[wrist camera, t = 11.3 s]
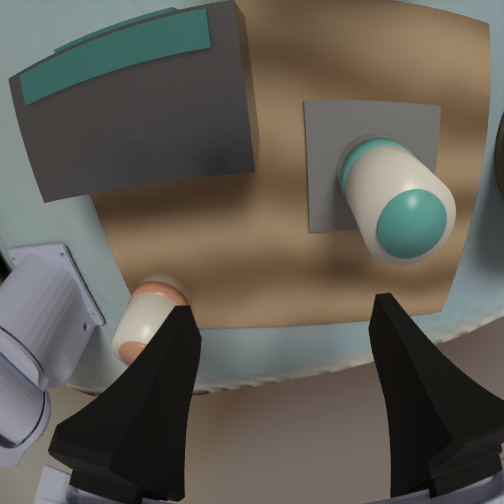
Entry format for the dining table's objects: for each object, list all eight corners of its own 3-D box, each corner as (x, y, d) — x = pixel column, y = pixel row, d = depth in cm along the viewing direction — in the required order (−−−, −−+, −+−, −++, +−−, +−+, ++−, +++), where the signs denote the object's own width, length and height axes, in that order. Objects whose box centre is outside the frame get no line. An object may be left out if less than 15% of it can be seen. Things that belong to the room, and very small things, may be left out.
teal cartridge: (411, 134, 15) (468, 177, 10) (404, 203, 18) (446, 267, 13) (336, 132, 16) (367, 175, 11) (335, 205, 18) (358, 273, 13)
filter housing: (259, 139, 16) (255, 173, 12) (87, 166, 18) (42, 204, 13) (243, 9, 12) (231, -11, 8) (61, 59, 13) (4, 72, 9)
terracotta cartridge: (198, 314, 25) (182, 379, 20) (147, 314, 25) (125, 375, 20) (184, 270, 22) (161, 339, 17) (129, 272, 23) (98, 335, 18)
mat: (424, 223, 19) (426, 226, 18) (309, 229, 20) (309, 232, 19) (438, 105, 14) (440, 106, 14) (303, 101, 15) (303, 101, 15)
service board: (437, 303, 24) (441, 311, 23) (149, 319, 27) (146, 327, 26) (480, 23, 11) (488, 23, 10) (63, 52, 14) (54, 53, 13)
